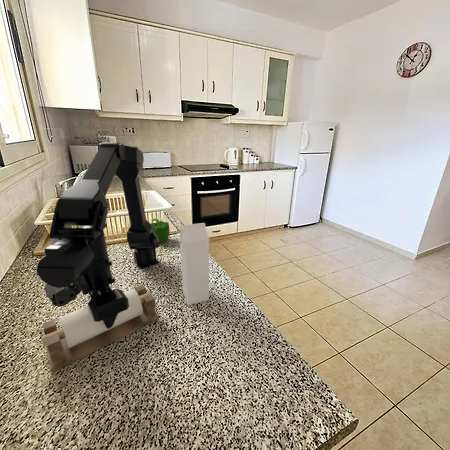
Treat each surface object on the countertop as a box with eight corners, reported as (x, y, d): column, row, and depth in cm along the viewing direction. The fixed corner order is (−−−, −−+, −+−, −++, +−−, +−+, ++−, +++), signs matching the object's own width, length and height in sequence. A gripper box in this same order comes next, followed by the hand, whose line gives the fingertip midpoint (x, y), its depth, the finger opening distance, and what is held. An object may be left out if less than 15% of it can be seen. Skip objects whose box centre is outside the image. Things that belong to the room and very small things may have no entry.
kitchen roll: (146, 298, 63) (144, 278, 60) (157, 312, 59) (155, 292, 56) (44, 342, 49) (36, 319, 47) (49, 365, 45) (40, 340, 42)
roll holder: (146, 304, 64) (144, 283, 61) (158, 318, 59) (156, 297, 56) (47, 348, 50) (39, 324, 48) (52, 372, 45) (43, 347, 43)
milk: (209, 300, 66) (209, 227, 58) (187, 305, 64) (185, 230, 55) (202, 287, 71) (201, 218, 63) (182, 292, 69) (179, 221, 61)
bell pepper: (174, 239, 102) (173, 217, 98) (162, 247, 95) (160, 223, 91) (158, 235, 105) (157, 214, 101) (146, 242, 98) (143, 220, 94)
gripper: (36, 250, 49) (54, 311, 55) (49, 296, 36) (71, 369, 42) (95, 237, 56) (106, 291, 61) (124, 271, 43) (134, 336, 48)
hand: (104, 317), depth 53 cm, fingers open, 7 cm apart
